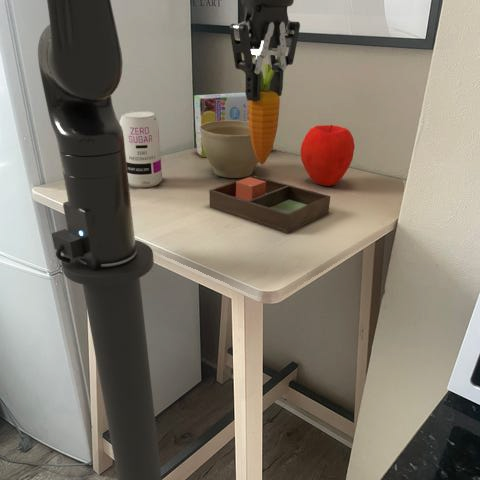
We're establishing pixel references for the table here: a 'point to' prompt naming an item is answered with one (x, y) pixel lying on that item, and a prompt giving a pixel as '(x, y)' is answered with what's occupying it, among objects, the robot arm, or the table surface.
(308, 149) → the apple
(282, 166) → the table surface
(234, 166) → the planter bowl
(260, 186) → the terracotta block
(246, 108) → the snack box
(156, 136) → the supplement can
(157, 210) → the table surface
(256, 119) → the carrot
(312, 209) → the sorting tray
